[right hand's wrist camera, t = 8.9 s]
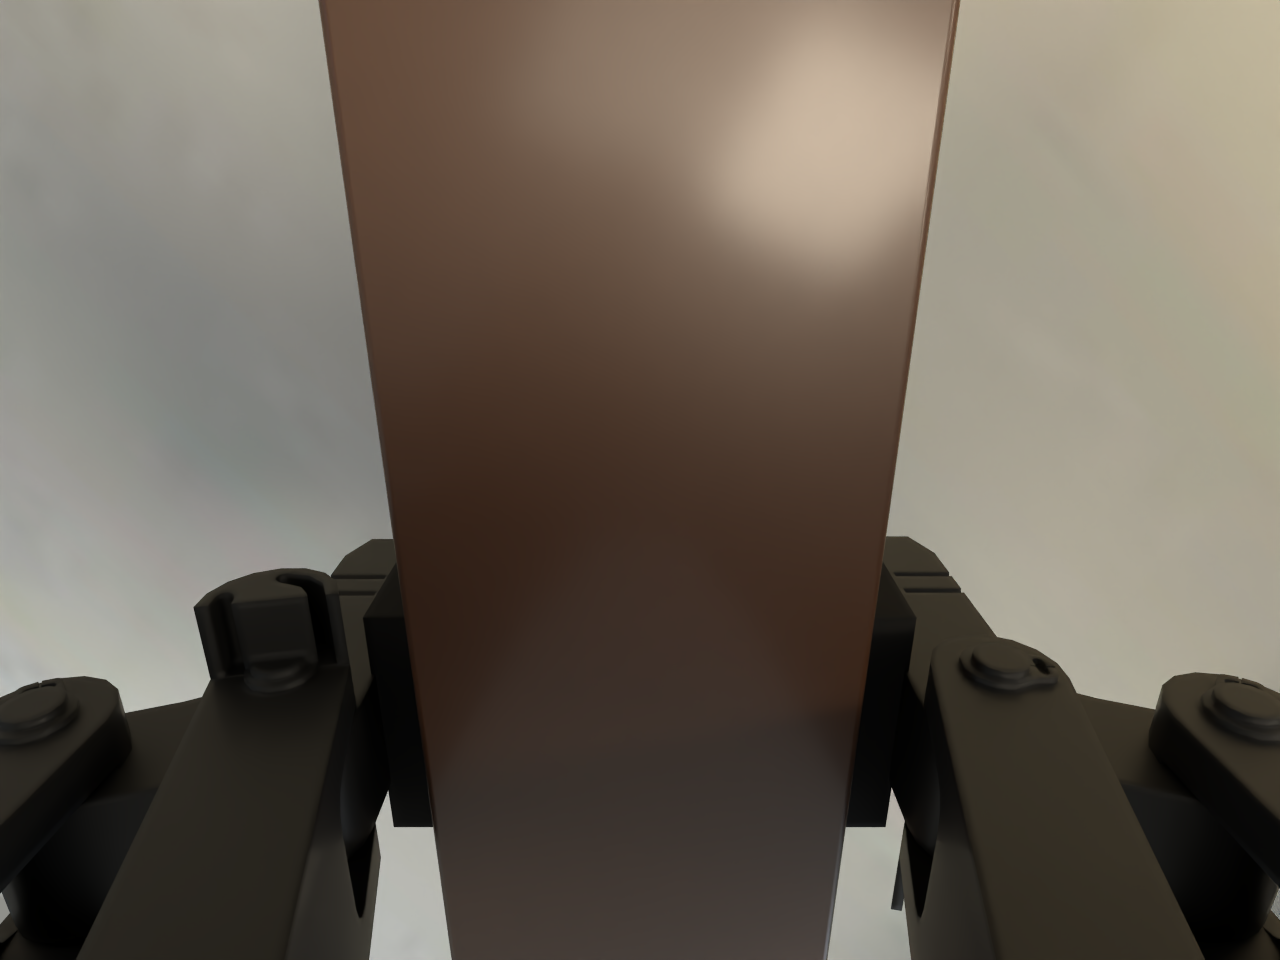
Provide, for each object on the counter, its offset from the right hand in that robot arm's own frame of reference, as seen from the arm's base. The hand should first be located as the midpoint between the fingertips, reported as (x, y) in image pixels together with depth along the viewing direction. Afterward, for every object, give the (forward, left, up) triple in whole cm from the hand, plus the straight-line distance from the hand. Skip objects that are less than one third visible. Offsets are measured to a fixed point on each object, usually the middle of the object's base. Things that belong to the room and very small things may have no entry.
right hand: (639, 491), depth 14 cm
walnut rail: (0, -11, +1) cm, 11 cm away
